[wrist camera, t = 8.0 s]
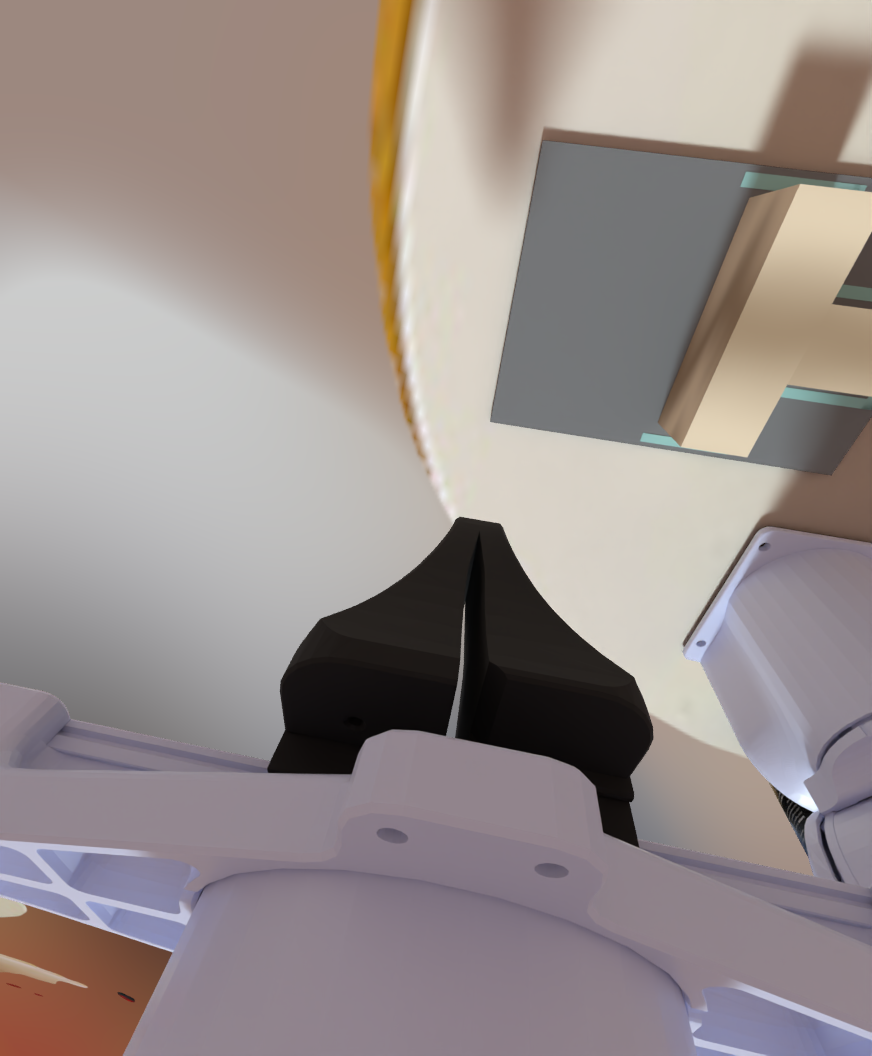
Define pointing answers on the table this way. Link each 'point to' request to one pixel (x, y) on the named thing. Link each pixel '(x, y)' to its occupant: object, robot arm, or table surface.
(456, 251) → the table surface
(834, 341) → the t block
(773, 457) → the mat
